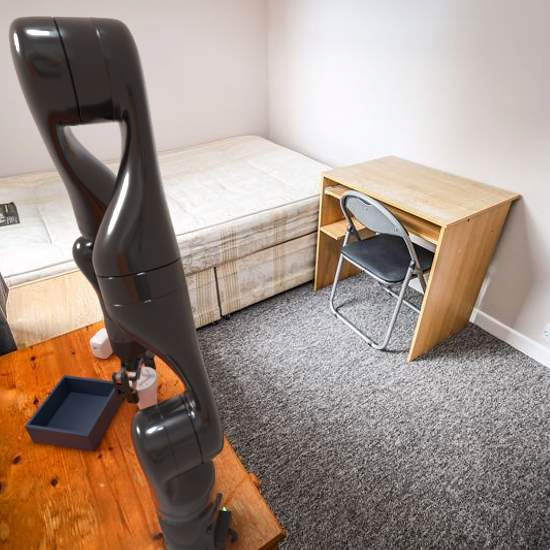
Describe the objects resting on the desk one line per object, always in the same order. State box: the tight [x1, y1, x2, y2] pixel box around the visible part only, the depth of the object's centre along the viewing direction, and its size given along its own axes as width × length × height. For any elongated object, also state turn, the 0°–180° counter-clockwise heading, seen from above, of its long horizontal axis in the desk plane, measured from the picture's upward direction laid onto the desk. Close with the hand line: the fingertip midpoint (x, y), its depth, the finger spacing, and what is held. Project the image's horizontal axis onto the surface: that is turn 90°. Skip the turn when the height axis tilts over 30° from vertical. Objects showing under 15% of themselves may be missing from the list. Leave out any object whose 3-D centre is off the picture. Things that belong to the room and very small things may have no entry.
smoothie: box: [128, 366, 159, 411], centre depth 82 cm, size 6×6×14 cm
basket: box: [23, 374, 125, 452], centre depth 81 cm, size 13×13×5 cm
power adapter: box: [89, 327, 114, 360], centre depth 100 cm, size 11×5×6 cm, turn 164°
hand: (143, 385), depth 81 cm, fingers open, 8 cm apart
